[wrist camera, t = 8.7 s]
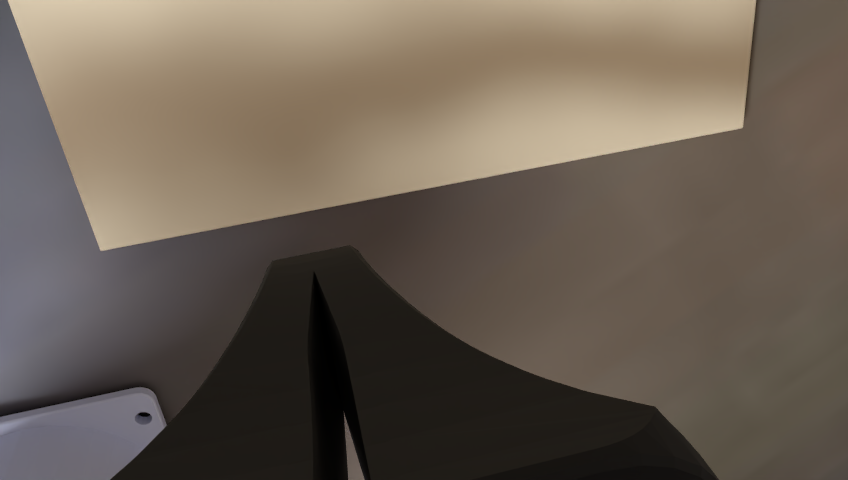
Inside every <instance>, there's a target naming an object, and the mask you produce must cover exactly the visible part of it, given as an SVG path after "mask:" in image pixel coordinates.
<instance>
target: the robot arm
mask: <svg viewBox="0 0 848 480" xmlns="http://www.w3.org/2000/svg"><path fill="white" fill-rule="evenodd" d="M343 410H344V411H343ZM140 412H147V413H149V414H150V416H148V417H142V416H140V415H138V413H140ZM344 413H345V417H346V420H347V423H348V426H349V430H350V433H351V436H352V440H353V443H354V446H355V450H356V453H357V456H358V459H359V463H360V466H361V469H362V472H363V476H364V479H365V480H719V479H718V478H717V477H716V475H715V474H714V473H713V471H712V470H711V469H710V467H709V466H708V465H707V463H706V462H705V461H704V459H703V458H702V457H701V456H700V454H699V453H698V452H697V451H696V450H695V449H694V448H693V446H692V445H691V444H690V443H689V442H688V441H687V440H686V438H685V437H684V436H683V435H682V434H681V433H680V432H679V431H678V430H677V429H676V428H675V427H674V426H673V425H672V424H671V423H670V422H669V421H668V420H667V419H666V418H665V417H664V416H663V415H662V414H661V413H660V412H659V410H658V409H657V408H656V407H654V406H649V405H645V404H640V403H636V402H631V401H627V400H622V399H618V398H613V397H609V396H604V395H600V394H595V393H591V392H587V391H583V390H580V389H577V388H573V387H570V386H567V385H564V384H561V383H557V382H554V381H551V380H548V379H545V378H542V377H540V376H537V375H534V374H531V373H529V372H526V371H523V370H521V369H519V368H516V367H514V366H512V365H510V364H507V363H505V362H503V361H500V360H498V359H496V358H494V357H491V356H489V355H487V354H485V353H483V352H481V351H479V350H477V349H475V348H473V347H472V346H470V345H468V344H466V343H465V342H463V341H461V340H460V339H458V338H456V337H455V336H453V335H451V334H450V333H448V332H447V331H445V330H444V329H442V328H441V327H440V326H438V325H437V324H435V323H434V322H433V321H431V320H430V319H429V318H427V317H426V316H425V315H423V314H422V313H420V312H419V311H418V310H417V309H416V308H414V307H413V306H412V305H411V304H409V303H408V302H407V301H406V300H405V299H404V298H403V297H401V296H400V295H399V294H398V293H397V292H396V291H395V290H393V289H392V288H391V287H390V286H389V285H388V284H387V283H386V282H385V281H384V280H383V279H382V278H381V277H380V276H379V275H378V274H377V273H376V272H375V271H374V270H373V269H372V268H371V266H370V265H369V264H368V263H367V262H366V261H365V260H364V258H363V257H362V256H361V254H360V253H359V251H358V250H356V249H355V248H353V247H352V246H345V247H340V248H335V249H330V250H325V251H320V252H315V253H310V254H305V255H300V256H295V257H290V258H285V259H280V260H275V261H272V263H271V264H270V266H269V267H268V268H267V270H266V273H265V276H264V278H263V281H262V283H261V285H260V288H259V290H258V292H257V294H256V296H255V298H254V300H253V302H252V305H251V307H250V308H249V310H248V312H247V314H246V316H245V318H244V320H243V321H242V323H241V325H240V327H239V329H238V331H237V332H236V334H235V336H234V338H233V339H232V341H231V342H230V344H229V346H228V347H227V349H226V350H225V352H224V353H223V355H222V356H221V358H220V359H219V361H218V363H217V364H216V366H215V367H214V369H213V370H212V372H211V373H210V375H209V376H208V377H207V379H206V380H205V381H204V383H203V384H202V385H201V387H200V388H199V389H198V391H197V392H196V393H195V395H194V396H193V397H192V398H191V399H190V401H189V402H188V403H187V404H186V406H185V407H184V408H183V409H182V410H181V411H180V412H179V414H178V415H177V416H176V417H175V418H174V419H173V420H172V421H171V422H170V423H169V424H168V425H167V424H166V422H165V419H164V416H163V414H162V411H161V408H160V405H159V403H158V400H157V397H156V395H155V394H154V392H153V391H151V390H150V389H148V388H144V387H136V388H131V389H127V390H122V391H117V392H113V393H108V394H104V395H99V396H94V397H90V398H85V399H80V400H76V401H71V402H67V403H62V404H57V405H53V406H48V407H44V408H39V409H34V410H30V411H25V412H21V413H16V414H11V415H7V416H2V417H0V480H348V469H347V454H346V439H345V425H344Z"/></svg>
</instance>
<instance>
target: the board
mask: <svg viewBox="0 0 848 480" xmlns="http://www.w3.org/2000/svg"><path fill="white" fill-rule="evenodd" d="M8 2H9V5H10V7H11V10H12V13H13V15H14V18H15V21H16V24H17V26H18V29H19V32H20V34H21V37H22V40H23V42H24V45H25V48H26V51H27V53H28V56H29V59H30V61H31V64H32V67H33V69H34V72H35V75H36V78H37V80H38V83H39V86H40V88H41V91H42V94H43V96H44V99H45V102H46V105H47V107H48V110H49V113H50V115H51V118H52V121H53V123H54V126H55V129H56V132H57V134H58V137H59V140H60V142H61V145H62V148H63V150H64V153H65V156H66V159H67V161H68V164H69V167H70V169H71V172H72V175H73V177H74V180H75V183H76V186H77V188H78V191H79V194H80V196H81V199H82V202H83V204H84V207H85V210H86V213H87V215H88V218H89V221H90V223H91V226H92V229H93V231H94V234H95V237H96V240H97V242H98V245H99V248H100V250H101V251H104V250H109V249H114V248H119V247H125V246H130V245H135V244H140V243H145V242H151V241H156V240H161V239H166V238H172V237H177V236H182V235H187V234H192V233H198V232H203V231H208V230H213V229H219V228H224V227H229V226H234V225H239V224H245V223H250V222H255V221H260V220H265V219H271V218H276V217H281V216H286V215H292V214H297V213H302V212H307V211H312V210H318V209H323V208H328V207H333V206H339V205H344V204H349V203H354V202H359V201H365V200H370V199H375V198H380V197H386V196H391V195H396V194H401V193H406V192H412V191H417V190H422V189H427V188H432V187H438V186H443V185H448V184H453V183H459V182H464V181H469V180H474V179H479V178H485V177H490V176H495V175H500V174H506V173H511V172H516V171H521V170H526V169H532V168H537V167H542V166H547V165H552V164H558V163H563V162H568V161H573V160H579V159H584V158H589V157H594V156H599V155H605V154H610V153H615V152H620V151H626V150H631V149H636V148H641V147H646V146H652V145H657V144H662V143H667V142H673V141H678V140H683V139H688V138H693V137H699V136H704V135H709V134H714V133H719V132H725V131H730V130H735V129H740V128H743V121H744V111H745V102H746V92H747V83H748V73H749V64H750V54H751V45H752V35H753V25H754V16H755V6H756V0H8Z"/></svg>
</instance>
